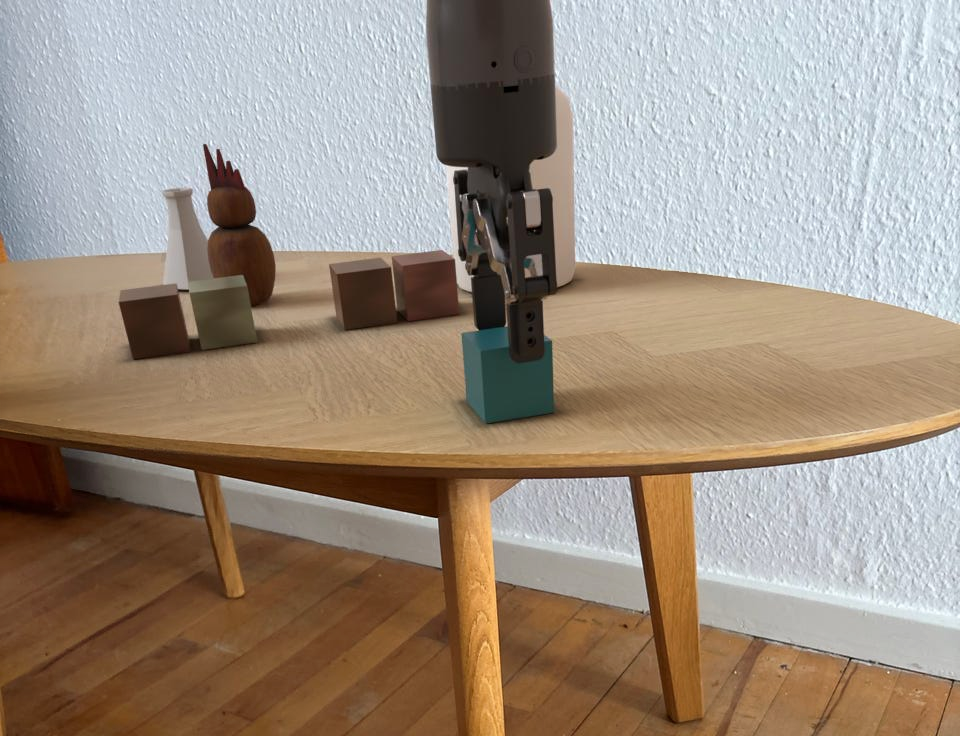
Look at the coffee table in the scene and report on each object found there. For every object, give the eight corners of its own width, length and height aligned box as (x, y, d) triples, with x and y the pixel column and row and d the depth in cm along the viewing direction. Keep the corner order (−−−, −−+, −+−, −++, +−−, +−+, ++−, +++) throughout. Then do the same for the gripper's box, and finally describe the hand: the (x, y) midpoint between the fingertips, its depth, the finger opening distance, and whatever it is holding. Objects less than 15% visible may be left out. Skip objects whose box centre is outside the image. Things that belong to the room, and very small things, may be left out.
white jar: (453, 301, 98) (435, 68, 88) (457, 273, 109) (441, 63, 98) (580, 292, 98) (577, 58, 87) (571, 266, 108) (567, 54, 98)
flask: (186, 294, 109) (165, 196, 104) (152, 287, 114) (130, 193, 108) (241, 280, 114) (223, 185, 108) (205, 274, 118) (186, 183, 113)
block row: (133, 359, 88) (118, 301, 85) (134, 345, 92) (120, 290, 89) (459, 314, 94) (455, 258, 91) (446, 303, 98) (442, 249, 95)
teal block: (485, 424, 68) (480, 350, 65) (466, 402, 72) (461, 332, 69) (554, 412, 69) (552, 340, 66) (531, 392, 73) (529, 323, 70)
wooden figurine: (208, 304, 104) (175, 146, 97) (256, 293, 108) (227, 139, 100) (241, 313, 100) (210, 148, 92) (290, 301, 103) (263, 140, 95)
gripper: (406, 76, 65) (431, 328, 73) (461, 82, 53) (483, 381, 61) (516, 65, 66) (528, 314, 75) (594, 68, 54) (597, 363, 63)
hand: (508, 344), depth 68 cm, fingers open, 8 cm apart
